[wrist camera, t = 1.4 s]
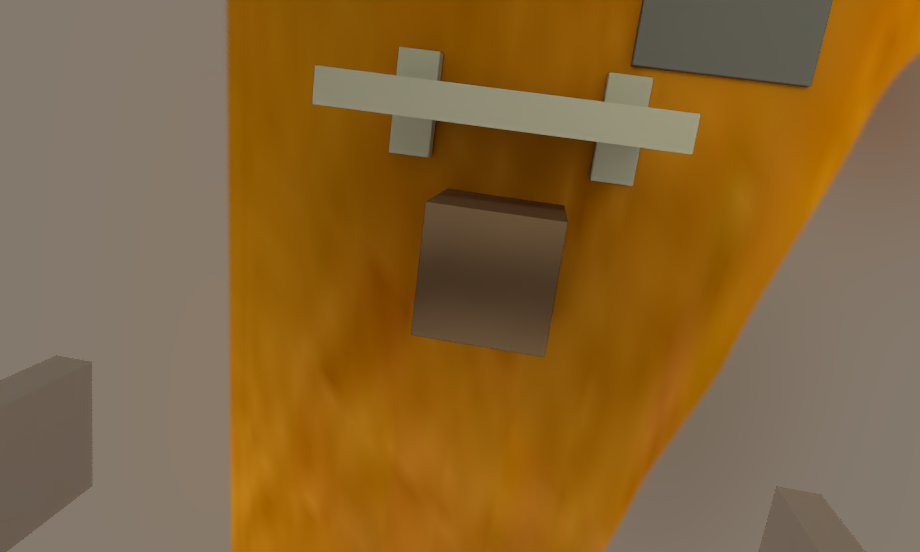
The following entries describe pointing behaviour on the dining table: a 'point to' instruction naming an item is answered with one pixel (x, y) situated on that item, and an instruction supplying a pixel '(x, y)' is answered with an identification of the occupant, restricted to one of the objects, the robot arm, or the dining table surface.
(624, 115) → the screen
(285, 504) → the dining table surface
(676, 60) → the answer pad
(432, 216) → the brown cube
